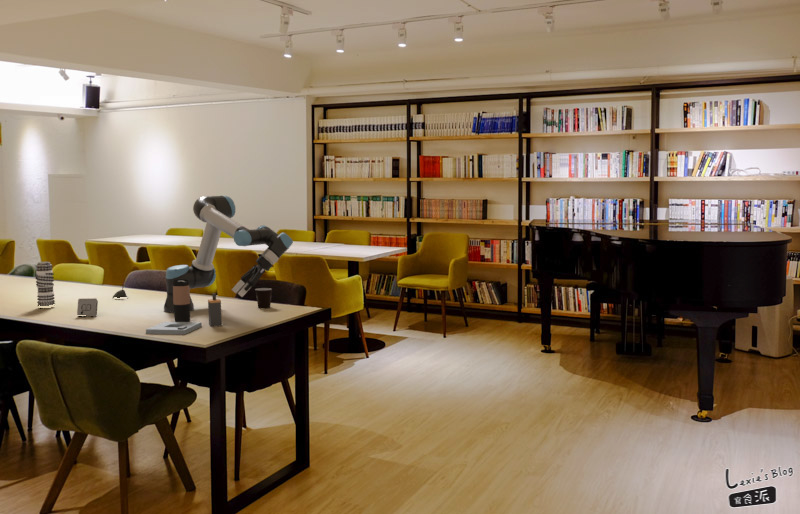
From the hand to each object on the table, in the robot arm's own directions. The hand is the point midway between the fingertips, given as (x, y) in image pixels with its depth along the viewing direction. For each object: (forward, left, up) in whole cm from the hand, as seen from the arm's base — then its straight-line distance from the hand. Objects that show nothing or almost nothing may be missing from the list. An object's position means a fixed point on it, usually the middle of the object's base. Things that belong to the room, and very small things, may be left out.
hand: (236, 293), depth 334 cm
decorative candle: (-122, +34, -14) cm, 127 cm away
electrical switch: (-84, +12, -15) cm, 86 cm away
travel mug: (-29, +3, -14) cm, 32 cm away
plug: (-9, -5, -14) cm, 18 cm away
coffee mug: (-2, +46, -14) cm, 48 cm away
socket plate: (-23, -18, -14) cm, 33 cm away
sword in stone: (-99, +69, -15) cm, 121 cm away
